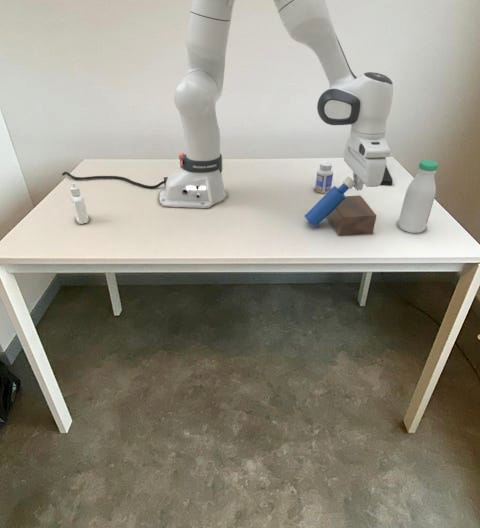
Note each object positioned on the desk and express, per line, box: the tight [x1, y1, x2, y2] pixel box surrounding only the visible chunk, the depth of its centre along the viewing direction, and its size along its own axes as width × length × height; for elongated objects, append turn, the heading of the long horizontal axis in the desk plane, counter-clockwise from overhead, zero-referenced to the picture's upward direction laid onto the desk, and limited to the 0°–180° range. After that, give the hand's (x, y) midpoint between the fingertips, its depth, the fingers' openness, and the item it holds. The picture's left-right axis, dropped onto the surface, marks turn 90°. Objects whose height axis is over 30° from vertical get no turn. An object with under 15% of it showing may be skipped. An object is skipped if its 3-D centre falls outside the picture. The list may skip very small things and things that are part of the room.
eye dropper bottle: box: [69, 182, 89, 225], centre depth 120 cm, size 4×6×12 cm
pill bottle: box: [314, 161, 334, 194], centre depth 139 cm, size 5×5×10 cm
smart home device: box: [379, 166, 394, 186], centre depth 153 cm, size 8×2×20 cm
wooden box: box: [327, 195, 377, 236], centre depth 120 cm, size 10×13×6 cm
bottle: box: [304, 176, 356, 228], centre depth 117 cm, size 14×5×15 cm, turn 96°
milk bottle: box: [397, 159, 439, 234], centre depth 115 cm, size 8×8×20 cm
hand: (357, 188), depth 116 cm, fingers closed
